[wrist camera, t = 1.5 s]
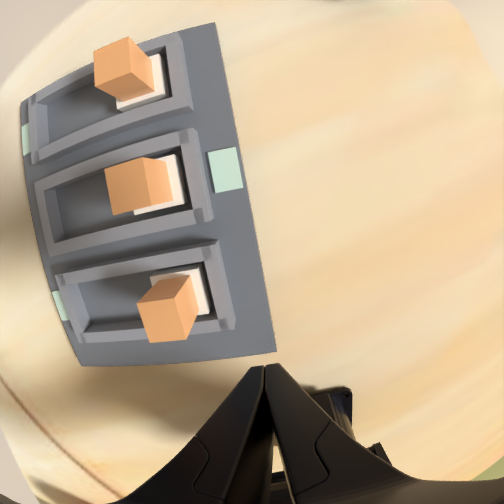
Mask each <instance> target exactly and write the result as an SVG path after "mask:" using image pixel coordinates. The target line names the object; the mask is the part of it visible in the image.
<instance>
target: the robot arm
mask: <svg viewBox="0 0 504 504" xmlns="http://www.w3.org/2000/svg"><path fill="white" fill-rule="evenodd" d="M346 393H347V394H346ZM344 394H346V395H344ZM274 432H275V437H276V441H277V445H278V449H279V453H280V457H281V460H282V464H283V470H284V471H280V472H275V473H272V461H273V446H274ZM0 504H19V503H17V502H15V501H12V500H11V499H9V498H8V497H6V496H4V495H2V494H0ZM108 504H504V477H502V478H499V479H493V480H483V481H432V480H421V479H417V478H414V477H411V476H409V475H407V474H404V473H403V472H401V471H399V470H398V469H396V468H395V467H393V466H392V464H391V462H390V460H389V459H388V457H387V455H386V453H385V451H384V449H383V447H382V445H381V444H380V442H379V443H376V444H374V445H372V446H371V447H368V448H365V447H363V446H362V445H361V444H359V443H358V442H357V441H356V439H355V436H354V433H353V430H352V392H351V389H349V388H343V389H339V390H335V391H330V392H325V393H320V394H315V395H310V396H309V394H308V393H307V392H306V391H305V390H304V389H303V388H302V387H301V386H300V385H299V384H298V383H297V382H296V381H295V380H294V379H293V377H292V376H291V375H290V374H289V373H288V372H287V371H286V370H285V369H284V368H283V367H282V365H281V364H279V363H275V364H269V365H266V367H265V366H263V365H262V366H255V367H251V368H250V369H249V370H248V371H247V373H246V374H245V375H244V377H243V378H242V379H241V380H240V382H239V383H238V384H237V385H236V387H235V388H234V389H233V390H232V392H231V393H230V394H229V395H228V397H227V398H226V399H225V400H224V401H223V403H222V404H221V405H220V406H219V407H218V409H217V410H216V411H215V412H214V414H213V415H212V416H211V417H210V418H209V419H208V421H207V422H206V423H205V424H204V425H203V427H202V428H201V429H200V430H199V431H198V432H197V433H196V436H194V437H193V438H192V439H191V440H190V441H189V442H188V444H187V445H186V446H185V447H184V448H183V449H182V450H181V451H180V452H179V453H178V454H177V455H176V456H175V457H174V458H173V459H172V460H171V461H170V462H169V463H167V464H166V465H165V466H164V467H163V468H162V469H161V470H159V471H158V472H157V473H156V474H155V475H153V476H152V477H151V478H150V479H148V480H147V481H146V482H145V483H143V484H142V485H141V486H140V487H138V488H137V489H136V490H135V491H133V492H132V493H131V494H129V495H128V496H126V497H124V498H122V499H120V500H118V501H116V502H112V503H108Z"/></svg>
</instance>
